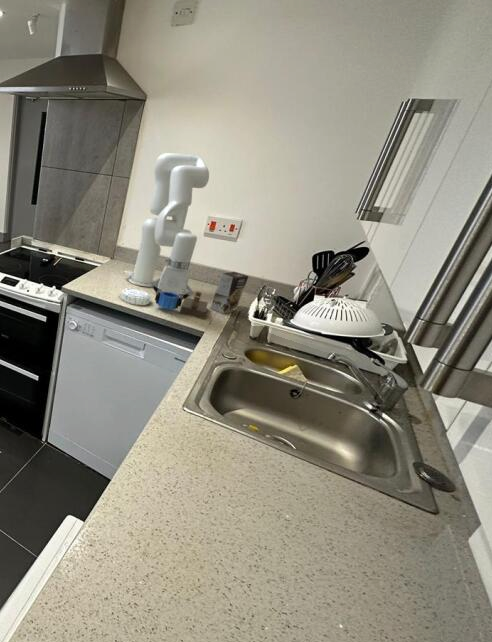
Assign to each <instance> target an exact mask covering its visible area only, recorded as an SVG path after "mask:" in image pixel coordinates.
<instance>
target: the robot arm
mask: <svg viewBox="0 0 492 642" xmlns="http://www.w3.org/2000/svg"><path fill="white" fill-rule="evenodd" d="M209 181H210V172H209V168H208V165H207V164H206V163H205V161H204V160H203V158H202V157H201V156H199V155H195V154H186V153H175V152H167V153H162V154H160V155H158V157H157V159H156V161H155V164H154V187H153V192H152V196H151V201H150V206H149V210H150V213H151V214H152V215H154V216H157V218H156V217H152V218H148V219H146V220H145V221H143V223H142V227H141V228H142V229H141V239H140V244H139V248H138V253H137V256H136V260H135V265H134V269H133V271H129V270H124V272H123V274H124V276H127V277H128V282H130V283H131V284H133V285H135V286H139V287H146V288H151V287H152V289H153V290H154V292H155V298H154V301H155V304H157V303H158V300H159V296H160V293H161V292H163V291H166V292H172V293H175V294H177V295H179V299H178V302H177V306H176V309H177V310H178V309H179V307H180V308H181V307H182V304H183V301H184V299H185V298H189V297H190V296H192V295H193V294H195V293H194V290H193V289H192V287H191V286H190V285H189V284H188V283H189V279H190V272H191V270H190V269H189V267H190V264H191V261H192V257H193V254H194V250H195V248H196V244H197V241H198V236H196V234H194V233H192V231H190V230H189V229H186V228H185V229H184V227H185V223H186V219H187V215H188V211H189V207H190V206H191V205H192V202H193V189H203V188H205V187H206V186H207V185H208V183H209ZM168 217H171V219H167V218H168ZM161 247H166V248H167V247H168V248H171V252H170V255H169V258H165V259H164V263H166V265H165V266H164V267H163V270H162V272H161V274H160V275H161V276H160V278H158V279H156V280H154V278H155V274H156V270H157V266H158V263H159V259H160V255H161V252H162V249H161ZM156 284H158V285H156ZM186 290H187V291H188V292H187V293H185V292H186Z"/></svg>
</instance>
